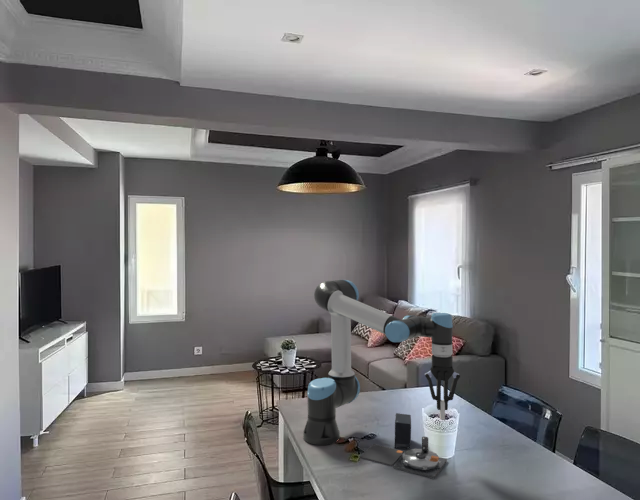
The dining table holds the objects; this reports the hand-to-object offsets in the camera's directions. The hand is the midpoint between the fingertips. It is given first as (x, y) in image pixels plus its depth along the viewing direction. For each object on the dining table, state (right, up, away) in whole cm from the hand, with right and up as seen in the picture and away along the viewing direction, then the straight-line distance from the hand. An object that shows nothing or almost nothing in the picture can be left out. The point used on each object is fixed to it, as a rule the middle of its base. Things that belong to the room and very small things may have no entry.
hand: (442, 418), depth 171 cm
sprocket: (-9, -14, -3) cm, 17 cm away
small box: (-12, -16, +15) cm, 25 cm away
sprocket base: (-9, -16, -3) cm, 18 cm away
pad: (-22, -16, +4) cm, 27 cm away
